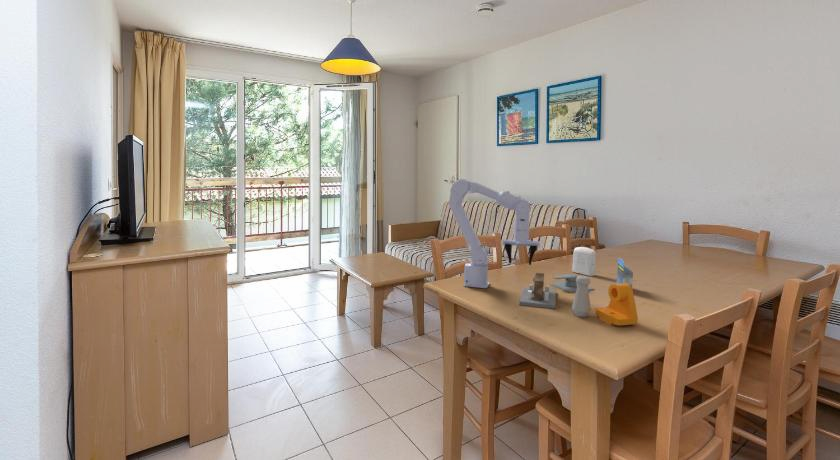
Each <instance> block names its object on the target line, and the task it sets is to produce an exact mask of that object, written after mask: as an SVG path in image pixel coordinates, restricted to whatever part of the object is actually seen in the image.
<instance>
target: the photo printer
mask: <svg viewBox="0 0 840 460" xmlns="http://www.w3.org/2000/svg"><path fill="white" fill-rule="evenodd" d="M572 253H573V254H572V255H573V256H572V268H571V271H572V273H575V274H576V273H577V274H581V275H583V276H587V277H593V276H594V275H595V270H596V257H597V253H596V250H594V249H592V248H589V247H587V246H578V247H574V249H573V252H572Z"/></svg>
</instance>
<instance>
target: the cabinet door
mask: <svg viewBox="0 0 840 460" xmlns="http://www.w3.org/2000/svg"><path fill="white" fill-rule="evenodd" d="M544 281H545V273H544V272H543V273H542V272H535V275H534V277H533V278H532V282H533V283H534V284H533V288H534V298H533V300H541V301H542V297H543V288H544V286H545V285H544V284H545V283H544Z"/></svg>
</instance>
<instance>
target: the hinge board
mask: <svg viewBox="0 0 840 460" xmlns="http://www.w3.org/2000/svg"><path fill="white" fill-rule="evenodd" d="M544 286H545V287H543V297H542V301H541V300H533V298H534V284H533V283H529V286H523V288H522V291H521V295H520V299H519V306H525V307H526V306H527V307H534V308H536V307H537V308H546V309H556V297H557V296H556V294H557V293H556V289H555V288H554V289H552V288H550V285H544Z"/></svg>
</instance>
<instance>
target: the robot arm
mask: <svg viewBox="0 0 840 460" xmlns="http://www.w3.org/2000/svg"><path fill="white" fill-rule="evenodd" d="M449 191H450V193H449V201H448V206H449V208H450V210H451V212H452V214H453V216H454V219H455V220H456V223H457V225H458V227H459V229H460V231H461V233H462V235H463V238H464V240H465V241H466V244H467V247H468V249H469V250H468V251H469V253H470V259H471V261H470V262H466V263H465V265H464V270H463V287H467V288H468V287H469V288H470V287H471V288H482V289H487V288H488V287H489V286H490V283H491V282H489V281H488V277H489V261H487V260H488V254H489V253H488V250H487V248H486V247H485V246H483V244H482V243H481V241H480V239H479V237H478V236H477V234H476V231H475V229H474V227H473V225H472V224H471V221H470V219H469V217H468V215H467V212H466V211H465V209H464V206H463V205H462V204H463V203H464V199H465V196H466V195H467V194H468V193H469V194H475V193H476V194H480V195H483V196H485V197H487V198H490V199H492V200H495V201H496V204H497V205H498V206H501V207H503V208H505V209H507V210H510V211H515V217H514V227H513V229H514V230H513V239H502V242H501V245H502V246H504V249H505V252H506V254H507V258H508V264H512V259H513V258H512V251H513V250H512V249H513V246H519V247H529V260H528V265H529V266H531V265H532V260H533V258H534V255H535V253H536V251H537V249H538V248H540V247H541V241H534V240H529V237H530V221H531V219H530V212H531V210H532V207H531V204H530V202H529V201H528V200H527V199H525V198H522V196H519V195H518V196H517V195H515V194H512V193H510V190H509V191H508V190H505V191H504V190H502V191H500V192H498V191H496V190H494V189H493V188H490V187H487V186H485V185H483V184H480V183H479V182H475V181H472V180H468V179H466V178H460V179H457V180H455V181H454V182H453V183H452V185H451V187H450V189H449Z"/></svg>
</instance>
